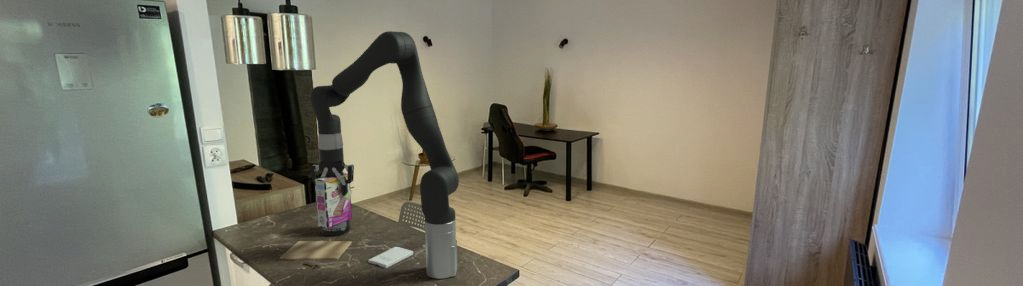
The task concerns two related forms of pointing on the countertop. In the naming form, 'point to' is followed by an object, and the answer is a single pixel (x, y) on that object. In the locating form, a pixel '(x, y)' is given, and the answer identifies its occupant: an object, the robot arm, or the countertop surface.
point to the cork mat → (317, 250)
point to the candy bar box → (332, 202)
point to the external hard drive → (390, 257)
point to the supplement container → (337, 229)
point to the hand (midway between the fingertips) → (334, 195)
